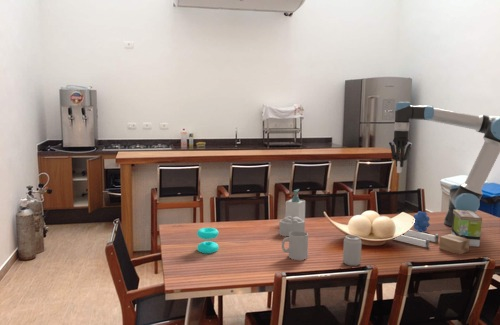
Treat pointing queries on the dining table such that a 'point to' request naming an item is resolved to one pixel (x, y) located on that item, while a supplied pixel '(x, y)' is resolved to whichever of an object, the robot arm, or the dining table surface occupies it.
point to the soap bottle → (295, 207)
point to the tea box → (467, 226)
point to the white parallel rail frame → (418, 241)
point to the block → (454, 244)
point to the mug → (297, 245)
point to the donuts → (207, 245)
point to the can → (352, 250)
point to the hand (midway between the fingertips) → (399, 172)
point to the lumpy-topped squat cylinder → (291, 225)
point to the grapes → (421, 221)
